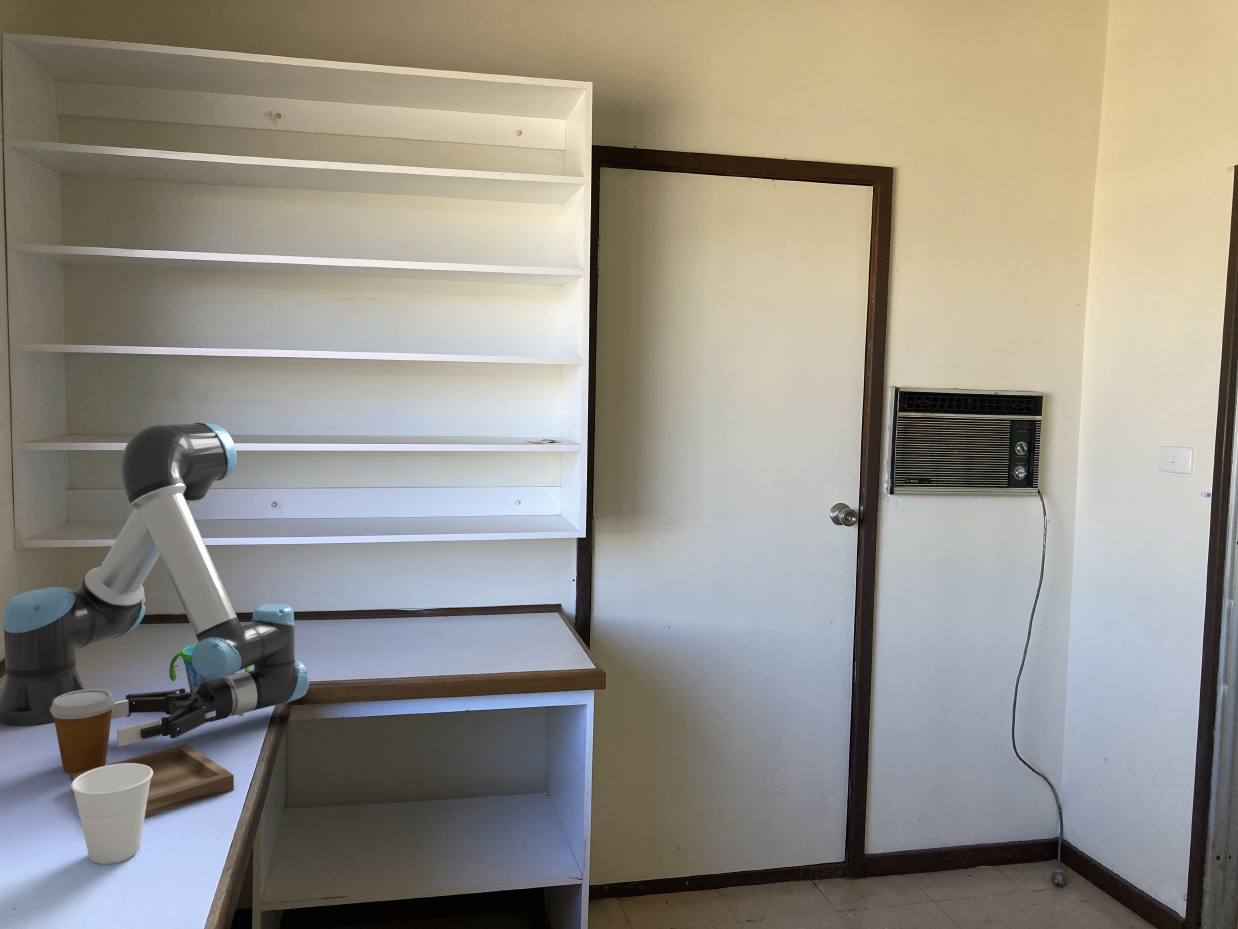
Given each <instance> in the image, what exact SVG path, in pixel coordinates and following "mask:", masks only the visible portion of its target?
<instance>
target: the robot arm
mask: <svg viewBox="0 0 1238 929" xmlns="http://www.w3.org/2000/svg"><path fill="white" fill-rule="evenodd" d="M237 457H238V456H237V451H236V448H235V443H234V440H233V438H232V437H231V435H230V434H229V433H228V431H227V430H225V429H224V428H223V427H221V426H219V425H217V424H215V423H210V422H209V423H208V422H207V423H206V422H200V421H199V422H194V423H181V424H179V423H177V424H155V425H150V426H147V427H145V428H143V429H141V430H139V431H138V432H136V433H135V434H134V435H133V436H132V437H131V438H130V440H129V441H128V442H127V443H126V446H125V448H124V450H123V452H122V457H121V462H120V463H121V465H120V471H121V472H120V474H121V480H122V484H123V489H124V491H125V494H126V498H127V499H128V502H129V504H130V506H131V508H133V510H132V512H131V514H130V515H129V517H128V518H127V519H126V520H127V521H126V522H125V523H124V525H123V527H122V529H121V530H120V532H119V534H118V536H117V537H116V539H115V541H114V543H113V544H112V546H111V548H110V549H109V551H108V553H107V555H106V557H105V559H104V560H103V562H102V563H101V565H100V566H97V567H93V568H92V569H90V570H89V571H88V572H87V573H86V574H85V577H84V578H83V579H82V581H81V583H80V585H79V586H78V587H77V588H76V589H74V590H72V589H71V588H68V587H66V586H65V587H63V586H51V587H44V588H41V589H39V588H38V589H33V590H29V591H26V592H23V593H20V594H18V595H15V596H14V597H12V598H11V599H9V600H8V602H7V603H6V604H5V606H4V609H3V620H2V628H3V638H4V639H3V640H4V657H5V658H4V665H5V666H4V667H5V679H4V682H3V685H2V688H1V691H0V723H1V724H3V725H4V724H5V725H10V726H29V725H30V726H31V725H41V724H47V723H52V722H53V723H54V717H53V715H52V713H51V712H50V708H51V706H52V703H53V700H54V699H55V698H56V697H58V696H60V695H63V694H66V693H69V692H73V691H79V690H86V689H85V686H84V683H83V681H82V678H81V677H80V674H79V673H78V670H77V653H76V651H77V650H78V649H82V648H85V647H89V646H92V645H95V644H98V643H102V642H105V641H108V640H112V639H117V638H119V637H123V636H124V635H125V634H128V633H130V632H131V631H133V630H134V629H136V628H137V627H138V626H139V625H140V623H141V622H142V621H143V619H144V616H145V613H146V605H145V603H146V597H145V589H144V586H143V583H144V582H145V580H146V579H147V577H148V576H149V574H150V571H152V569H153V567H154V565H155V564H156V562H157V560H158V558H159V557H160V558H161V561H162V563H163V564H164V567H165V569H166V572H167V574H168V576H169V578H170V581H171V583H172V585H173V588H174V590H175V592H176V594H177V596H178V600H180V603H181V605H182V608H183V610H184V612H185V613H186V616H187V619H188V621H189V624H190V625H191V628H192V630H193V632H194V635H195V637H196V640H197V643H195V644H196V645H195V647H194V648H193V651H192V665H193V667H194V669H195V671H196V672H197V673H198V674H199V675H200V676H201V677H203V678H205V679H208V681H204V682H202V683H201V684H200V685H199V688H198V690H197V692H196V693H190V691H189V692H188V691H187V692H186V688H183V687H182V688H179V689H172V690H163V691H151V692H141V693H132V694H131V693H130V694H127V695H125V700H124V699H123V700H119V701H115V704H114V706H113V708H112V715H111V720H114V719H119V718H120V719H121V718H123V717H127V718H129V717H130V716H132V713H133V714H134V713H136V714H137V713H140V714H141V713H143V714H144V713H164V714H166V715H168V716H161V717H160V719H154V720H150V721H147V722H142V723H137V724H134V725H129V726H126V727H122V728H118V729H116V736H117V737H116V738H117V739H116V745H117V747H122V746H126V745H130V744H135V743H138V742H142V741H146V740H149V739H154V738H157V737H168V736H169V738H170V739H176V738H178V737H180V736H183V735H184V734H186V733H188V732H190V731H193V730H195V729H196V728H199V727H201V726H202V725H204V724H206V723H212V722H217V721H220V720H223V719H224V720H225V719H227V718H229V717H235V716H239V717H242V716H244V714H247V713H251V712H254V711H257V710H261V709H266V708H269V707H273V706H279V705H284V704H287V703H289V702H293V701H296V700H298V699H301V698H302V697H303V696H305V695H306V693H307V692H308V689H309V685H310V678H309V675H308V669H307V667H306V666H305V665H304V663H303V662H301V661H299V660H296V659H295V651H296V650H295V646H296V645H295V643H296V640H295V637H296V632H295V630H296V628H295V627H296V624H295V616H294V615H295V614H294V609H293V608H292V606H290V605H289V604H286V603H285V604H284V603H268V604H262V605H259V606H257V607H255V609H254V610H253V612H252V618H251V621H252V622H250V623H247V624H244V625H241V623H240V620H239V619H238V616H237V614H236V612H235V609H234V607H233V605H232V602H231V600H230V598H229V596H228V594H227V590H226V589H225V587H224V584H223V582H222V580H221V577H220V576H219V572H218V571H217V568H216V566H215V564H214V562H213V560H212V557H211V555H210V553H209V551H208V548H207V546H206V544H205V542H204V539H203V537H202V534H201V532H200V530H199V528H198V526H197V524H196V521H195V519H194V517H193V514H192V511H191V509H190V508H189V507H190V506H191V504H192V503H194V502H200V501H202V500H203V499H204V498H205V497H206V495H207V493H208V492H209V490H210V488H211V487H212V485H213V483H214V482H215V481H216V482H218V481H222V480H224V479H227V477H229V476H230V475H231V474H232V473H233V471H234V470H235V467H236V464H237V459H238V458H237ZM249 666H250V667H251V666H253V669H252V670H250V671H247V672H245V671H243V670H245V668H247V667H249ZM240 671H243V672H240ZM237 672H239V673H237ZM222 677H224V678H222Z"/></svg>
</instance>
